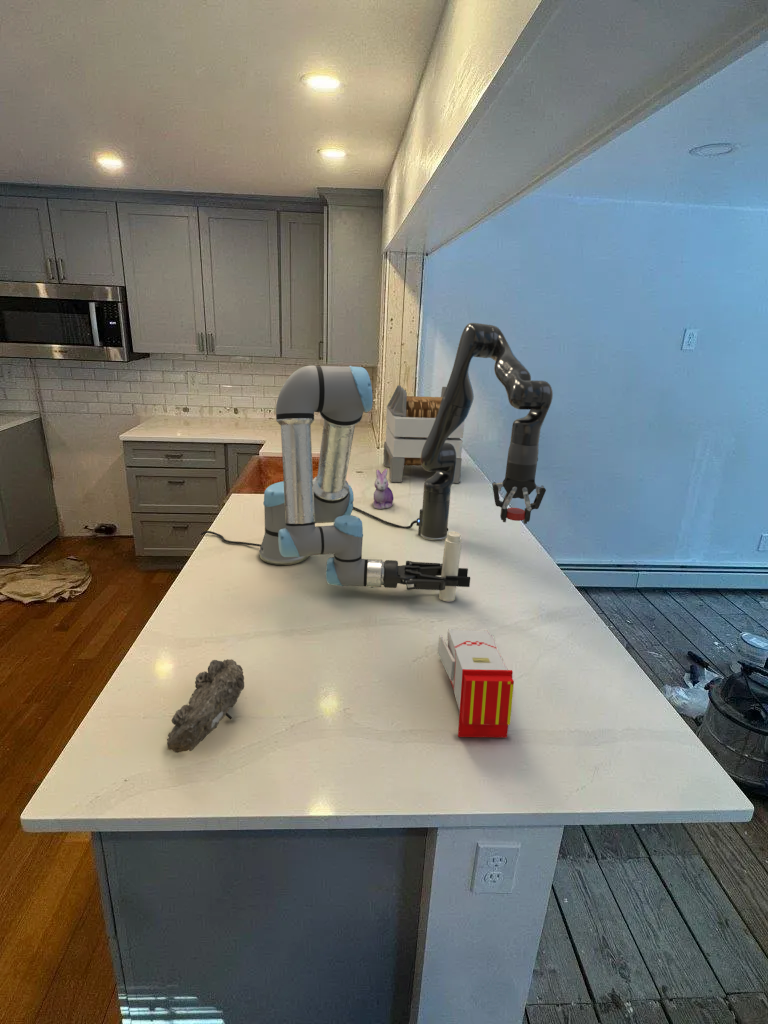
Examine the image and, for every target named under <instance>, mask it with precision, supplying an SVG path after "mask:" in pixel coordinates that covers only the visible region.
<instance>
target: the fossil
mask: <svg viewBox="0 0 768 1024" xmlns="http://www.w3.org/2000/svg"><path fill="white" fill-rule="evenodd" d="M243 670H244V669H243V667H242V665H240V664H237V662H236V661H235V660H234V659H232V658H231V659H227V658H226V659H224V660H223V661H222V660H217V659H212V660H211V661H210V663H209V665H208V666H207V671H201V672H199V673H198V674H197V675H196V676H195V680H194V684H195V685H194V687H195V689H194V690H193V693H192V694H191V697H190V698H189V700H188V704H184V705H182V706H181V707H180V709H177V710H176V711H175V713H174V715H173V716H172V718H171V723H172V724H173V727H172V730H171V731H170V732H168V734H167V738H166V741H167V742H166V745H167V749H168V750H169V751H173V752H174V753H176V754H178V753H182V752H188V751H189V752H192V751H193V750H195V748H196V747H197V746H199V744H200V743H201V742H203V741H204V740H205V739H206V738H207V737H208V736H209V735H210V734H211V733H212V732H214V730H215V729H217V727H218V726H219V724H220V722H221V721H222V720H223V719H224V718H225V716H226V717H227V719H229V720H233V717H232V715H230V714H229V710H230V709H231V708H234V706H235V704H236V703H237V702H238V699H239V697H240V695H241V693H242V691H243V690H245V689H244V688H245V675H244V671H243Z"/></svg>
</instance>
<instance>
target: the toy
mask: <svg viewBox="0 0 768 1024" xmlns="http://www.w3.org/2000/svg"><path fill="white" fill-rule="evenodd" d="M446 640H447V643H446V641H445V639H444V636H443V635H442V634H439V637H438V646H437V656H438V657H439V659H440V661H441V663H442V666H443V668H444V670H445V672H446V674H447V677H448V679H449V681H450V684H451V687H452V690H453V693H454V697H455V701H456V705H457V708H458V711H459V714H458V715H459V716H458V730H457V731H458V732H457V737H458V738H508V731H509V726H510V725H511V717H512V707H513V697H514V696H513V695H514V684H515V680H514V679H513V673H514V671H513V670H512V669H508V667H507V665H506V662H505V661H504V659H503V658H502V655H501V653H500V651H499V649H498V647H497V643H496V639H495V637H494V635H493V634H491V632H490V631H489V629H467V628H466V629H465V628H463V629H461V628H460V629H459V628H448V630H447V639H446Z"/></svg>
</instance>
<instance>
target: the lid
mask: <svg viewBox="0 0 768 1024" xmlns="http://www.w3.org/2000/svg"><path fill="white" fill-rule="evenodd" d="M524 519H525V509H523V508H519V507H507V517H506V520H510V521H516V522H521V521H522V522H523V520H524Z"/></svg>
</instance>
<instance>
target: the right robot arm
mask: <svg viewBox="0 0 768 1024" xmlns="http://www.w3.org/2000/svg"><path fill="white" fill-rule="evenodd" d="M473 358H479V359H492V361H495V362H494V366H493V370H494V374H495V376H496V379H497V380H498V381H499V382H500V383H501V385H502V386H503V387H504V390H505V392H506V395H507V400H508V403H509V405H510V406H511V407H513V408H514V409H516V410H520V411H521V410H525V411H527V410H529V411H528V413H527V415H525V416H523V417H519V418H516V419H514V420H513V422H512V427H511V434H510V442H509V446H508V450H507V458H506V459H507V460H506V468H505V474H504V479H503V481H502V482H492V484H491V485H492V492H493V497H494V504H495V507H498V508H500V520H501V521H502V523H507V518H506V517H507V509H508V506H509V504H510V503H511V501H512V499H520V500H523V501H524V505H525V508H524V511H525V519H524V520H522V523H523V524H524V525H526V524H528V523H529V522H530V520H531V513H532V511H534V510H538V509H539V508H540V506H541V504H542V502H543V500H544V497H545V494H546V491H547V489H546V487H545V486H544V485H538V484H536V475H537V468H538V467H537V466H538V461H539V448H540V447H539V445H540V437H541V430H542V426H543V425H544V422H545V419H546V417H547V415H548V412H549V411H550V407H551V405H552V403H553V397H554V392H553V388H552V385H551V384H550V383H549V382H548V381H546V380H532V376H531V374H530V371H529V370H528V369H527V368H526V367H525V365H524V364H523V363H522V362H521V361H520V360H519V359H518V358H517V357H516V355H515V354H514V352H513V350H512V347H511V346H510V344H509V342H508V340H507V339H506V337H505V335H504V333H503V332H502V330H501V329H500V328H499V327H498V326H496V325H493V324H488V323H487V324H486V323H479V322H469V323H467V324H466V325H465V326H464V328H463V330H462V333H461V335H460V338H459V343H458V346H457V350H456V355H455V358H454V362H453V366H452V369H451V372H450V375H449V379H448V381H447V384H446V386H445V387H446V390H445V392H444V395H443V398H442V401H441V404H440V407H439V411H438V413H437V416H436V419H435V422H434V424H433V427H432V429H431V431H430V434H429V436H428V438H427V440H426V442H425V444H424V446H423V449H422V452H421V465H422V466H421V467H422V469H423V470H424V471H426V472H434V473H433V475H431V476H429V477H428V478H426V479H425V480H424V482H423V493H422V496H423V497H422V506H421V508H420V509H419V516H418V518H416V520H413V521H412V522H411V523H410V525H408V526H405V525H404V526H403V525H400V524H396V523H394V522H391V521H387V520H384V519H382V518H380V517H378V516H376V515H373V514H372V513H369V512H367V511H365V510H362V509H360V508H358V507H356V506H353V510H355V511H357V512H359V513H361V514H363V515H366V516H368V517H370V518H373V519H375V520H377V521H379V522H381V523H383V524H386V525H388V526H392V527H395V528H398V529H405V530H409V529H412V527H413V526H414V525H415V524H416V526H417V527H418V530H417V535H418V536H420V538H421V539H424V540H426V541H432V542H440V541H445V538H447V535H448V532H449V528H448V525H449V517H450V516H449V514H450V504H451V494H452V493H451V491H452V486H453V484H454V483H453V480H454V473H455V466H456V451H455V448H454V446H453V445H452V444H451V443H445V441H446V439H447V438H448V437H449V436H450V435H451V434H452V433H453V432H454V431H455V430H456V429H457V428H458V427H459V426H460V425H461V424H462V423H463V421H464V420H465V421H466V419H467V417H468V415H469V413H470V412H471V411H470V410H471V408H472V406H473V402H474V397H475V396H474V389H473V386H472V382H471V378H470V374H469V373H470V372H469V370H470V365H471V362H472V359H473ZM465 421H464V422H465ZM502 488H504V490H505V492H506V493H505V494H504V497H503V500H500V494H499V492H501V491H502ZM534 491H535V494H536V496H535V498H534V500H533V502H532V503H531V499H530V495H531V494H532V493H533V492H534Z"/></svg>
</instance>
